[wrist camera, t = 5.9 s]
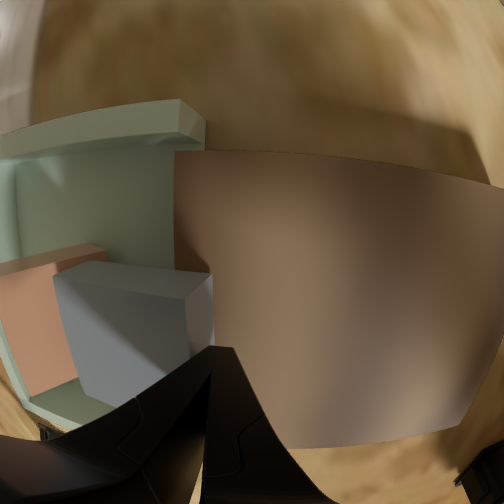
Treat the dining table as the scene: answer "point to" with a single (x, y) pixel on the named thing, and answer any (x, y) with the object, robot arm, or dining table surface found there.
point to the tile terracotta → (39, 315)
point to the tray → (92, 205)
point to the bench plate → (346, 287)
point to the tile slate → (132, 324)
